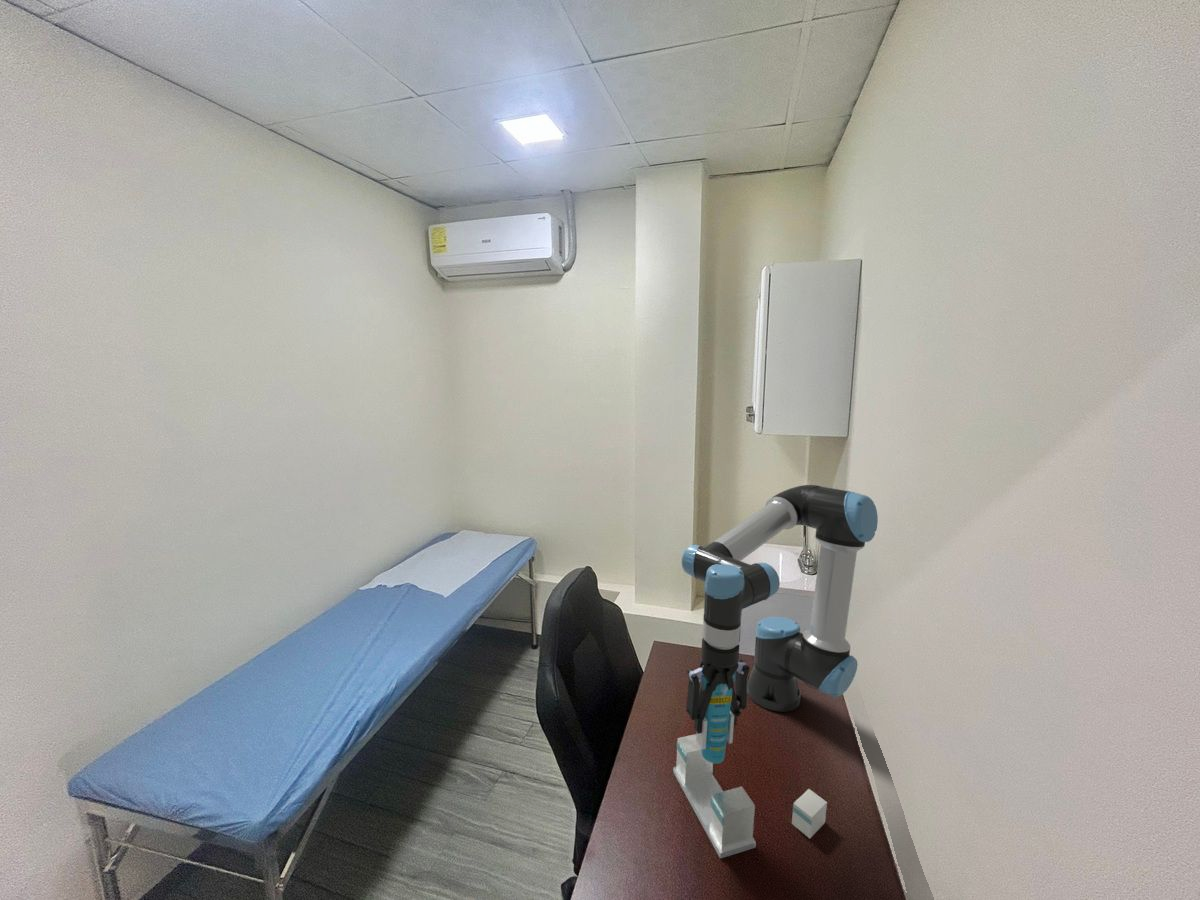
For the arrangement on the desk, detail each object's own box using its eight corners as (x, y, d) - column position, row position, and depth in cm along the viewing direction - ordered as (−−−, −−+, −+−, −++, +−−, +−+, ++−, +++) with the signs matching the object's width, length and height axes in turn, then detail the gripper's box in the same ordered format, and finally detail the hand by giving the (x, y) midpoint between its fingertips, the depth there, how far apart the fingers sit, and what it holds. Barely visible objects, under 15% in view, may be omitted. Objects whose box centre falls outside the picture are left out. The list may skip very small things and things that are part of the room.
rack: (703, 764, 112) (705, 730, 110) (755, 847, 92) (758, 806, 90) (673, 771, 109) (674, 737, 108) (720, 858, 89) (722, 817, 88)
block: (806, 808, 100) (808, 788, 100) (824, 823, 97) (827, 802, 97) (791, 824, 97) (793, 803, 96) (809, 839, 94) (811, 818, 93)
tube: (702, 766, 96) (707, 681, 93) (692, 749, 100) (696, 667, 98) (734, 761, 97) (740, 677, 95) (723, 743, 102) (728, 663, 99)
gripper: (748, 625, 101) (742, 721, 104) (671, 636, 96) (666, 737, 99) (770, 643, 94) (762, 745, 97) (688, 657, 89) (682, 764, 92)
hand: (714, 741), depth 98 cm, fingers closed on tube, 6 cm apart
